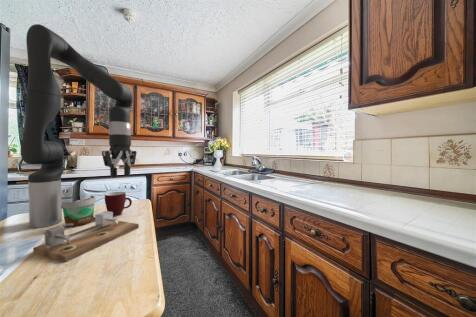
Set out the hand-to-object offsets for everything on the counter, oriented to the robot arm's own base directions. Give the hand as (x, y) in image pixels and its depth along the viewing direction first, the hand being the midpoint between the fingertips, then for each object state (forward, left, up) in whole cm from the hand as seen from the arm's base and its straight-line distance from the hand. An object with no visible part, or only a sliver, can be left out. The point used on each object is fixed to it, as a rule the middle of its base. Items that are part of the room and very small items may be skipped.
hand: (120, 176), depth 77 cm
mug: (-11, +8, -20) cm, 24 cm away
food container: (-14, -5, -20) cm, 25 cm away
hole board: (+3, -13, -19) cm, 24 cm away
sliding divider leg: (+2, -7, -17) cm, 19 cm away
